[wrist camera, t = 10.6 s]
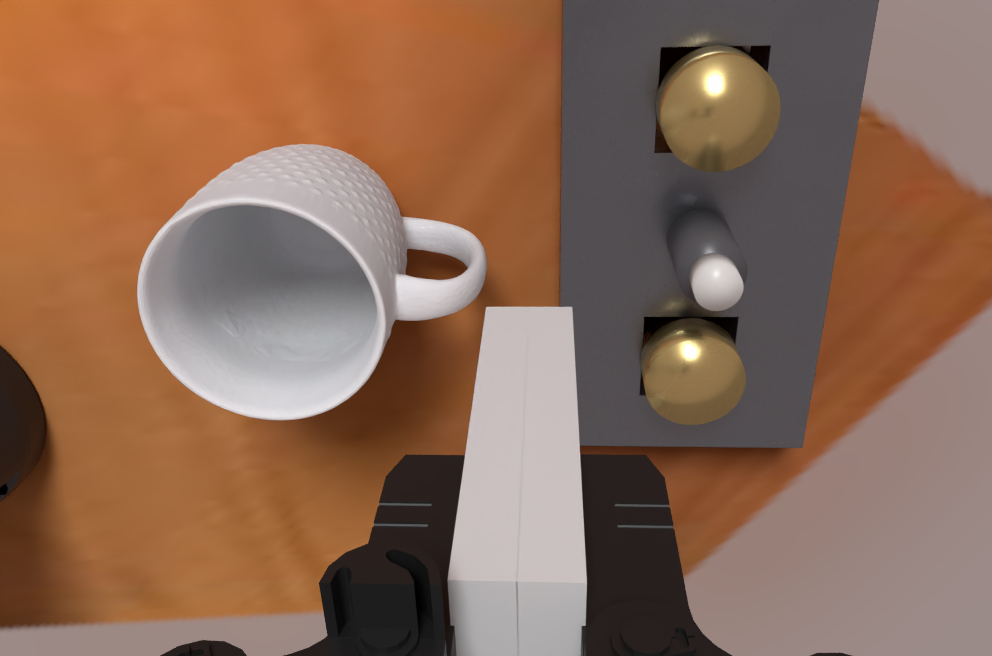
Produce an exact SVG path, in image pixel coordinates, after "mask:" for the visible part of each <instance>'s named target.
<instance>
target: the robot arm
mask: <svg viewBox="0 0 992 656" xmlns="http://www.w3.org/2000/svg"><path fill="white" fill-rule="evenodd" d="M44 441H45V422H44V416H43V411H42V408H41V405H40V402H39V399H38V397H37V394H36V392H35V390H34V388H33V386H32V385H31V383H30V381H29V380H28V378H27V376H26V375H25V374H24V372H23V371H22V369H21V368H20V367H19V366H18V364H17V363H16V362H15V361H14V360H13V359H12V358H11V357H10V355H9V354H8V353H7V352H5V351H4V350H3V349H2V348H1V347H0V502H1V501H2V500H4V499H5V498H6V497H7V496H9V495H10V494H11V493H12V492H13V491H14V490H15V489H16V488H17V487H18V486H19V484H20V483H21V482H22V481H23V480H24V479H25V477H26V476H27V475H28V474H29V473H30V472H31V470H32V469H33V468H34V466H35V465H36V463H37V462H38V460H39V458H40V455H41V453H42V450H43V446H44ZM379 503H380V504H379V506H378V509H377V512H376V516H375V520H374V527H372V531H371V535H370V539H369V542H368V544H366V545H363V546H361V547H358V548H356V549H353V550H351V551H348V552H346V553H345V554H343V555H342V556H341V557H340V558H338V559H337V560H336V561H335V562H333V563H332V564H331V565H330V566H329V567H328V568H327V570H326V572H325V573H324V575H323V577H322V579H321V580H320V582H319V586H320V592H321V598H322V604H323V610H324V616H325V622H326V629H327V635H328V636H327V637H326V638H325V639H323V640H321V641H320V642H318V643H316V644H314V645H312V646H311V647H309V648H306V649H303V650H300V651H298V652H295V653H292V654H288V655H284V656H732V655H730V654H728V653H727V652H725V651H723V650H722V649H720V648H718V647H717V646H716V645H714V644H713V643H712V642H711V641H710V640H709V639H708V638H707V637H706V636H705V635H704V634H703V633H702V632H701V631H700V629H699V628H698V626H697V625H696V623H695V622H694V620H693V618H692V615H691V612H690V609H689V606H688V601H687V595H686V590H685V584H684V579H683V574H682V568H681V563H680V558H679V552H678V547H677V542H676V537H675V531H674V529H673V521H672V515H671V510H670V508H669V499H668V494H667V489H666V484H665V478H664V476H663V475H662V474H661V473H660V472H659V470H658V469H657V468H656V467H655V466H654V464H653V463H652V462H651V461H650V460H649V458H648V457H647V456H646V455H586V454H580V443H579V424H578V406H577V387H576V368H575V349H574V330H573V312H572V307H486V311H485V319H484V326H483V333H482V340H481V347H480V354H479V361H478V368H477V375H476V382H475V389H474V396H473V403H472V410H471V417H470V424H469V432H468V439H467V446H466V453H465V455H405V456H404V457H403V458H402V459H401V461H400V462H399V463H398V464H397V465H396V466H395V467H394V468H393V469H392V470H391V472H390V473H389V474H388V475H387V476H386V479H385V482H384V486H383V490H382V494H381V497H380V501H379ZM161 656H246V654H245V653H244V652H243V650H242V649H240V648H238V647H235V646H233V645H231V644H229V643H227V642H224V641H206V640H202V641H197V642H193V643H189V644H185V645H181V646H178V647H176V648H174V649H172V650H170V651H168V652H166V653H165V654H163V655H161ZM811 656H851V655H847V654H844V653H816V654H813V655H811Z"/></svg>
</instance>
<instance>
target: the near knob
mask: <svg viewBox="0 0 992 656" xmlns="http://www.w3.org/2000/svg"><path fill="white" fill-rule="evenodd" d="M780 111H781V104H780V97H779V92H778V90H777V87H776V85H775V83H774V81H773V79H772V78H771V76H770V75H769V74H768V73H767V72H766V71H765V70H764V69H763V68H762V67H761V66H760V65H759V64H758V63H757V62H756V61H755V60H754V59H753V58H752V57H750V56H749V55H748V54H746V53H745V52H743V51H741V50H739V49H736V48H733V47H728V46H719V45H716V46H707V47H703V48H700V49H697V50H694V51H692V52H690V53H688V54H687V55H685V56H684V57H682V58H681V59H680V60H678V61H677V62H676V63H675V64H674V65H673V66H672V67H671V68H670V69H669V71H668V72H667V74H666V75H665V77H664V79H663V80H662V82H661V85H660V87H659V90H658V94H657V100H656V113H657V119H658V123H659V126H660V128H661V130H662V133H663V135H664V137H665V140H666V142H667V144H668V146H669V148H670V149H671V151H672V152H673V153H674V154H675V156H676V157H677V158H679V159H680V160H681V161H682V162H684V163H685V164H687V165H688V166H690V167H692V168H695V169H698V170H701V171H707V172H724V171H729V170H733V169H736V168H739V167H741V166H743V165H745V164H747V163H748V162H750V161H752V160H753V159H754V158H756V157H757V156H758V155H759V154H760V153H761V152H762V151H763V150H764V149H765V148H766V147H767V145H768V144H769V143H770V141H771V139H772V138H773V136H774V134H775V132H776V129H777V126H778V123H779V119H780Z"/></svg>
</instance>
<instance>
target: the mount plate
mask: <svg viewBox="0 0 992 656" xmlns="http://www.w3.org/2000/svg"><path fill="white" fill-rule="evenodd" d="M878 3H879V0H562V67H561V174H560V280H559V307H572V312H573V330H574V349H575V368H576V387H577V406H578V424H579V443H580V446H662V447H758V448H802V447H803V441H804V435H805V429H806V423H807V417H808V412H809V406H810V400H811V394H812V388H813V382H814V377H815V371H816V365H817V359H818V353H819V347H820V342H821V336H822V330H823V324H824V318H825V312H826V307H827V301H828V295H829V289H830V283H831V277H832V272H833V266H834V260H835V254H836V248H837V242H838V237H839V231H840V225H841V219H842V213H843V207H844V202H845V196H846V190H847V184H848V178H849V172H850V167H851V161H852V155H853V149H854V143H855V137H856V132H857V126H858V120H859V114H860V108H861V102H862V97H863V91H864V85H865V79H866V73H867V67H868V61H869V55H870V50H871V44H872V38H873V32H874V27H875V21H876V15H877V9H878ZM716 45H719V46H751V52H750V57H752V58H753V59H754V60H755V61H756V62H757V63H758V64H759V65H760V66H761V67H762V68H763V69H764V70H765V71H766V72H767V73H768V74H769V75H770V76H771V78H772V79H773V81H774V83H775V85H776V87H777V90H778V92H779V97H780V104H781V111H780V119H779V123H778V126H777V129H776V132H775V134H774V136H773V138H772V139H771V141H770V143H769V144H768V145H767V147H766V148H765V149H764V150H763V151H762V152H761V153H760V154H759V155H758V156H757V157H756V158H754V159H753V160H752V161H750V162H748V163H747V164H745V165H743V166H741V167H739V168H736V169H733V170H729V171H724V172H707V171H701V170H698V169H695V168H692V167H690V166H688V165H687V164H685V163H684V162H682V161H681V160H680V159H679V158H677V157H676V156H675V154H674V153H673V152H672V151H671V149H670V148H669V146H668V144H667V142H666V140H665V137H664V135H663V133H662V131H656V117H657V113H656V100H657V94H658V84H659V68H660V51H661V47H705V46H716ZM696 209H707V210H711V211H714V212H716V213H718V214H719V215H720V216H722V217H723V218H724V220H725V221H726V222H727V224H728V226H729V228H730V230H731V232H732V234H733V236H734V238H735V240H736V242H737V244H738V246H739V248H740V250H741V252H742V254H743V256H744V258H745V260H746V263H747V268H748V274H747V279H746V282H745V284H744V287H743V293H742V296H741V298H740V299H739V300H738V302H737V303H736V304H735V305H733V306H732V307H730V308H728V309H725V310H721V311H711V310H708V309H705V308H703V307H702V306H701V305H700V304H699V303H696V302H694V301H692V300H690V299H689V298H688V297H687V296H686V295H685V294H684V293H683V292H682V290H681V288H680V286H679V283H678V279H677V276H676V273H675V270H674V266H673V263H672V260H671V257H670V254H669V250H668V247H667V234H668V231H669V229H670V227H671V225H672V224H673V222H674V221H675V220H676V219H677V218H678V217H679V216H681V215H682V214H684V213H686V212H688V211H691V210H696ZM644 317H722V319H721V327H722V328H723V329H724V330H726V331H727V332H728V334H729V335H730V336H731V338H732V339H733V341H734V343H735V346H736V348H737V351H738V353H739V356H740V359H741V361H742V364H743V366H744V370H745V374H746V385H745V390H744V392H743V395H742V397H741V399H740V400H739V402H738V403H737V405H736V406H735V407H734V408H733V409H732V410H731V411H730V412H728V413H727V414H726V415H724V416H723V417H721V418H719V419H717V420H714V421H712V422H708V423H705V424H699V425H684V424H679V423H675V422H672V421H670V420H667V419H666V418H664V417H662V416H661V415H660V414H658V413H657V412H656V411H655V410H654V409H653V408H652V406H651V405H650V403H649V401H648V399H647V396H646V393H645V387H644V382H643V376H642V371H641V354H642V345H643V329H644Z"/></svg>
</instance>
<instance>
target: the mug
mask: <svg viewBox="0 0 992 656" xmlns="http://www.w3.org/2000/svg"><path fill="white" fill-rule="evenodd" d="M407 249H416V250H425V251H431V252H436V253H442V254H445V255H449V256H452V257H455V258H457V259H459V260H461V261H462V262H463V263H464V264H465V265H466V266H467V268H468V269H467V270H466V271H465V272H464V273H463V274H461V275H460V276H458V277H455V278H452V279H447V280H433V279H422V278H416V277H412V276H408V275H406V271H405V270H406V266H407V256H406V254H407ZM486 271H487V262H486V255H485V250H484V248H483V246H482V244H481V242H480V241H479V240H478V239H477V237H475V236H474V235H473V234H472V233H471V232H469V231H467V230H465V229H463V228H461V227H458V226H455V225H452V224H448V223H444V222H439V221H433V220H427V219H419V218H410V217H402V216H401V215H400V211H399V208H398V206H397V204H396V203H395V199H394V197H393V195H392V193H391V192H390V191H389V188H388V187H387V186H386V184H385V182H384V181H382V180H381V178H380V176H379V175H378V174H376V173H375V171H374V170H372V169H370V167H369V166H368V165H367V164H365V163H363V162H362V161H361V160H359V159H357V158H355V157H354V156H353V155H349V154H347V153H346V152H344V151H341V150H339V149H333V148H331V147H329V146H327V147H325V146H321V145H314V144H311V145H305V144H299V145H298V144H297V145H288V146H283V147H275V148H272V149H270V150H268V151H262V152H259V153H257V154H256V155H253V156H249V157H247V158H245V159H244V160H242V161H241V162H237V163H235V164H233V165H232V166H231V167H230V168H229V169H227V170H225V171H223V172H222V173H220V174H219V175H218V176H217V177H216V178H214V179H212V180H210V181H209V183H208V184H207V185H206V186H205V187H203V188H202V189H200V190H199V191H198V192H197V193H196V195H195V196H194V197H192V198H190V199H189V200H188V201H187V202H186V204H185V205H184V206H183V207H182V208H181V209H180V210H179V211H177V212H176V213H175V215H174V216H173V217H172V218H171V219H170V220H169V221H168V222H167V223H166V224H165V225H164V226H163V227H162V228H161V229H160V230H159V232H158V233H157V234H156V236H155V237H154V239H153V240H152V242H151V243H150V245H149V247H148V248H147V251H146V253H145V255H144V258H143V260H142V263H141V266H140V271H139V276H138V285H137V298H138V307H139V312H140V317H141V321H142V324H143V326H144V329H145V332H146V334H147V337H148V339H149V341H150V343H151V345H152V347H153V349H154V350H155V352H156V353H157V355H158V356H159V358H160V359H161V361H162V362H163V364H164V365H165V366H166V367H167V368H168V369H169V370H170V372H171V373H172V374H173V375H174V376H175V377H176V378H177V379H178V380H179V381H180V382H182V383H183V384H184V385H185V386H186V387H188V388H189V389H190V390H191V391H193V392H194V393H196V394H197V395H199V396H200V397H202V398H204V399H205V400H207V401H209V402H211V403H213V404H215V405H217V406H219V407H221V408H223V409H226V410H229V411H231V412H234V413H238V414H241V415H245V416H248V417H253V418H258V419H266V420H295V419H302V418H307V417H312V416H315V415H318V414H321V413H324V412H326V411H328V410H331V409H333V408H335V407H336V406H338V405H340V404H341V403H343V402H344V401H346V400H347V399H349V398H350V397H351V396H352V395H353V394H355V393H356V392H357V391H358V390H359V389H360V388H361V387H362V386H363V385H364V384H365V382H366V381H367V380H368V379H369V377H370V376H371V374H372V373H373V371H374V370H375V368H376V366H377V364H378V362H379V360H380V358H381V355H382V353H383V350H384V347H385V345H386V342H387V340H388V338H389V337H390V335H391V329H392V325H393V324H394V322H395V320H405V321H419V320H428V319H434V318H438V317H443V316H446V315H449V314H452V313H455V312H457V311H459V310H461V309H463V308H464V307H466V306H467V305H469V304H470V303H471V302H472V301H473V300H474V299H475V298H476V297H477V296H478V294H479V293H480V291H481V289H482V287H483V284H484V281H485V276H486Z"/></svg>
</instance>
